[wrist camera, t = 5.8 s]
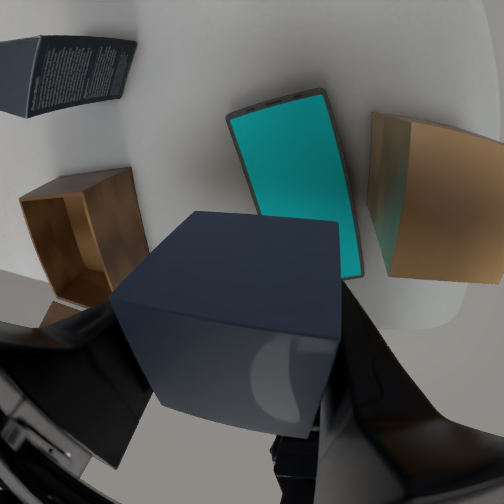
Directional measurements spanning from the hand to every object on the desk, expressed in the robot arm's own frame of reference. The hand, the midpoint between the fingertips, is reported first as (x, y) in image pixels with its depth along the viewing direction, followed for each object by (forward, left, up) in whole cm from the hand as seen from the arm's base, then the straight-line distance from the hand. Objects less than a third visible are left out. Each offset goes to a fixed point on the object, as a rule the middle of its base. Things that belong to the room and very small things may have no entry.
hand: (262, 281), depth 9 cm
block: (0, 0, 0) cm, 0 cm away
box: (+12, +17, -13) cm, 25 cm away
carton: (-5, +21, -13) cm, 25 cm away
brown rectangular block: (+2, -9, -13) cm, 16 cm away
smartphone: (-1, 0, -13) cm, 13 cm away
